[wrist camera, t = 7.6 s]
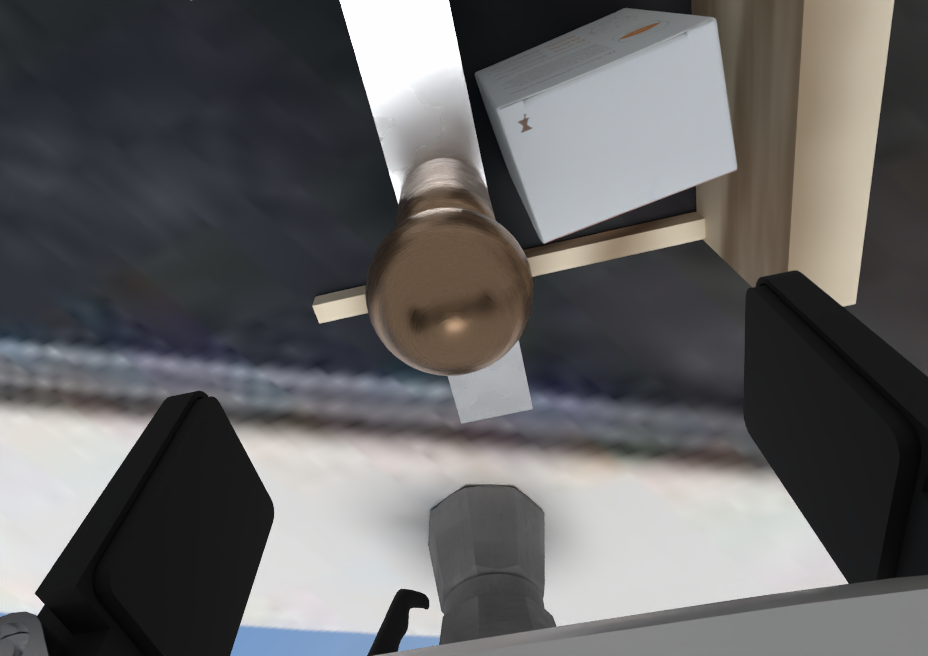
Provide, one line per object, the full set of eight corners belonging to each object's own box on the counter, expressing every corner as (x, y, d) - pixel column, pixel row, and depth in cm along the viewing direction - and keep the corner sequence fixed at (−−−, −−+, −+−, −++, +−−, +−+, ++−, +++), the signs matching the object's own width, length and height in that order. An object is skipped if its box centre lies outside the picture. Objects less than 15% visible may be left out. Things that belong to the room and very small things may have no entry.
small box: (508, 173, 32) (538, 249, 23) (471, 69, 30) (489, 109, 21) (652, 117, 31) (743, 174, 22) (628, 3, 29) (720, 15, 20)
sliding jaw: (434, -106, 25) (440, -289, 8) (512, 287, 34) (593, 591, 17) (341, -81, 25) (154, -207, 8) (444, 302, 34) (457, 616, 17)
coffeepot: (590, 509, 46) (672, 782, 30) (529, 584, 50) (574, 858, 34) (403, 447, 42) (387, 724, 26) (354, 533, 46) (315, 818, 30)
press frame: (758, -188, 25) (929, -275, 17) (749, 222, 35) (855, 303, 26) (185, -35, 27) (70, -42, 18) (323, 316, 36) (290, 421, 28)
